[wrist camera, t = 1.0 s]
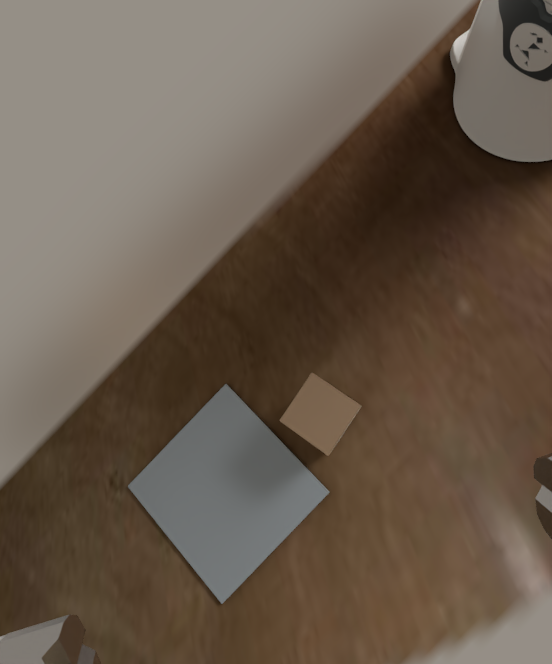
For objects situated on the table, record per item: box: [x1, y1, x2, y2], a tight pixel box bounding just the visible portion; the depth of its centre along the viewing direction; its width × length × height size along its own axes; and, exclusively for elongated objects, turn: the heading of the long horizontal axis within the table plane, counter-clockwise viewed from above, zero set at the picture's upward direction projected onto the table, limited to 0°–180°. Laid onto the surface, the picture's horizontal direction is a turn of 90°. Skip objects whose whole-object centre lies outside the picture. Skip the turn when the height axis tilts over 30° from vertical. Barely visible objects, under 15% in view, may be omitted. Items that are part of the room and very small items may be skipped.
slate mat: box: [128, 384, 329, 604], centre depth 41 cm, size 14×14×1 cm
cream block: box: [280, 373, 361, 456], centre depth 37 cm, size 4×4×8 cm
